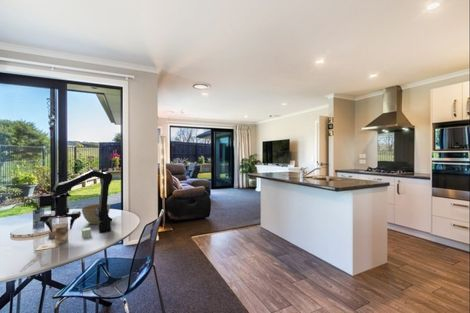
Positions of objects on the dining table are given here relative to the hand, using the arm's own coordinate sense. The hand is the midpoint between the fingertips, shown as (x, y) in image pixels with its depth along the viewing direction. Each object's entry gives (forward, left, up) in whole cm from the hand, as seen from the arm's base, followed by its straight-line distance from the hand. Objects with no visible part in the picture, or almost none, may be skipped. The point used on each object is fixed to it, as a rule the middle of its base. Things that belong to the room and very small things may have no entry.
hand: (61, 230), depth 135 cm
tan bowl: (-14, -32, -7) cm, 36 cm away
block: (-12, -4, -7) cm, 14 cm away
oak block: (0, 0, -7) cm, 7 cm away
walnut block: (0, 0, -2) cm, 2 cm away
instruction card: (+5, +6, -7) cm, 10 cm away
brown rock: (+5, -17, -7) cm, 19 cm away
